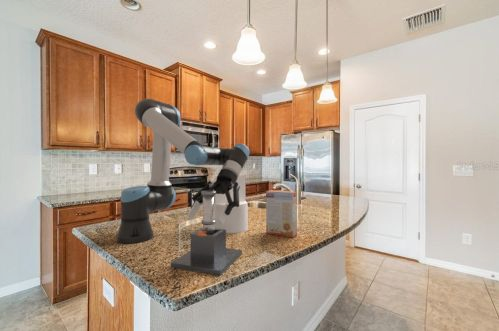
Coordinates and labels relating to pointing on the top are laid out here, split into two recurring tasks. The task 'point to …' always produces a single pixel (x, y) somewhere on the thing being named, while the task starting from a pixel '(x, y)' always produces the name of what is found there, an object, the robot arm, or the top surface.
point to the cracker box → (281, 213)
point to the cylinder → (233, 209)
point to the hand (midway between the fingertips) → (204, 219)
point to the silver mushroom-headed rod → (208, 212)
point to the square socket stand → (208, 253)
